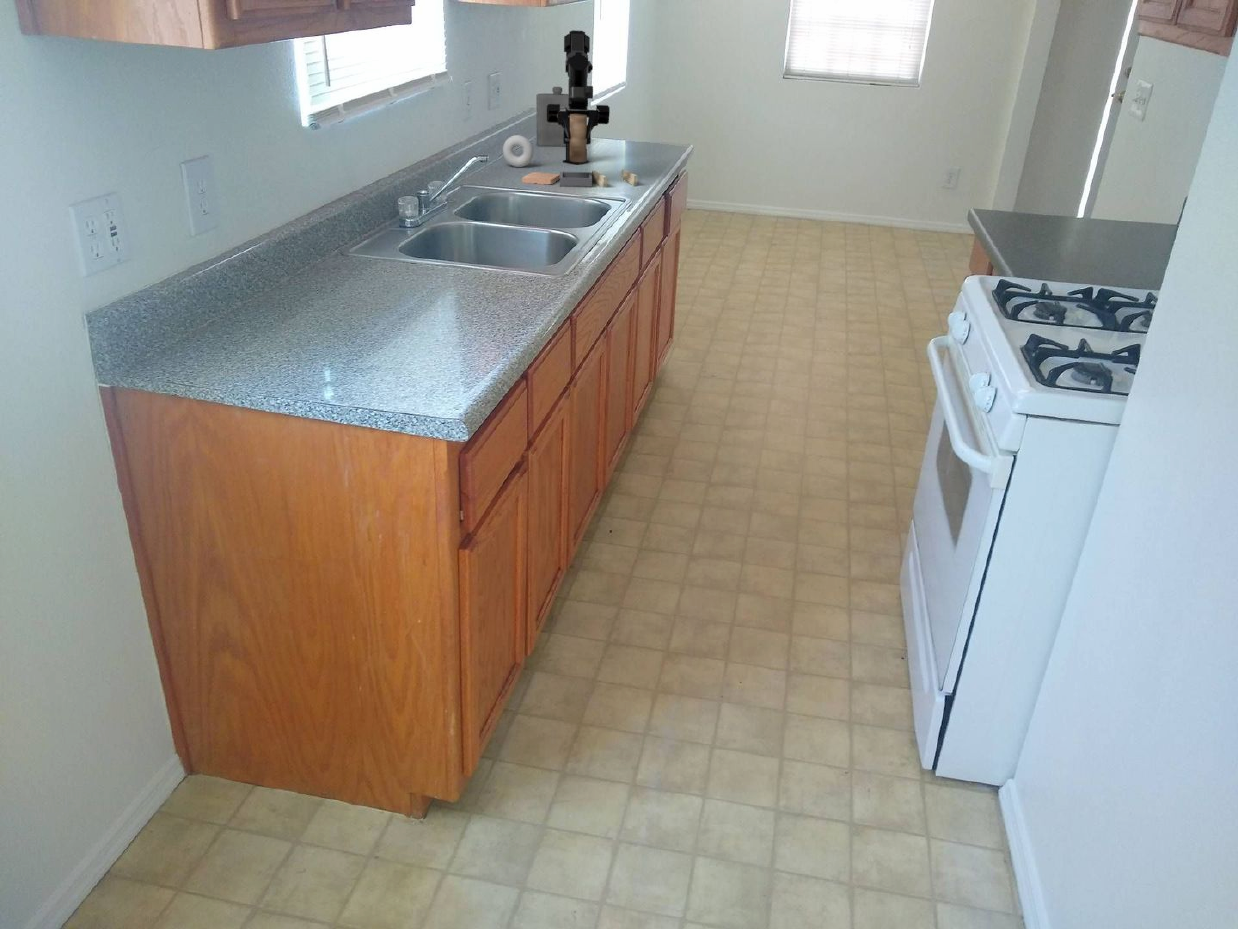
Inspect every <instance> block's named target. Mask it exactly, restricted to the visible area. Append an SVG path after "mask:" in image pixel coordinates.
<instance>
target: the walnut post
mask: <svg viewBox="0 0 1238 929" xmlns="http://www.w3.org/2000/svg"><path fill="white" fill-rule="evenodd" d="M587 125H588V119H587V115H585V114H571V115H570V161H572V162H585V161H586V149H587V144H586V141H587V139H586V133H587Z"/></svg>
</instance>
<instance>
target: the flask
mask: <svg viewBox="0 0 1238 929" xmlns="http://www.w3.org/2000/svg"><path fill="white" fill-rule="evenodd" d="M568 97H569V93H563V88H562V87H561V86H553V87H552V93H537V94H536V97H535V98H536V104H535V105H536V146H537V147H541V148H545V147H546V148H548V147H549V148H550V147H557V148H558V147H560V148H561V147H562V148H566V144H564V142H563V138H564V129H563V127H562V126H561V125H558V123H549V122H547V105H548V104H560V107H566V108H567V109H569V106H568ZM565 140H570V139H567V138H565Z"/></svg>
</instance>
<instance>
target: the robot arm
mask: <svg viewBox="0 0 1238 929" xmlns="http://www.w3.org/2000/svg"><path fill="white" fill-rule="evenodd" d="M590 43H591V38H590V36H589V35H587V34H586V31H583V30H573V29H572V30H570V31H569V33H568V34H566V35H565V36H563V53H565V61H564V62H565V68H564V69H565V73H567V77H568V86H567V87H568V94H569V97H568V106H569V109H567V108H566V107H560V104H548V105H547V122H549V123H558V125H561V126H562V127H563V129H564V138H563V142H564V144H566V147H565V159H564V160H563V159H562V163H567V164H572V165H582V164H586V163H589V162H590V161H589V160H588V159H587V157H588V149H587V148H586V161H585V162H572V161H570V140H565V138H567V139H570V115H571V114H585V115H587V118H588V119H587V133H586V139H587V141H586V146H587V145H591V137H592V131H593V129H594V128H595V127H598V126H599V125H608V124H609V123H610V115H611V114H610V106H609V105H608V104H596V105H595V106H596V107H595V109H588V107H589V99H594V86H593V85H588V78H589V74H591V72H592V71H593V70H594V69H593V68H594V67H593V64H592V63H591V60H589V55H588V53H589V54H590V49H591V47H590V46H591V44H590Z"/></svg>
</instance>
